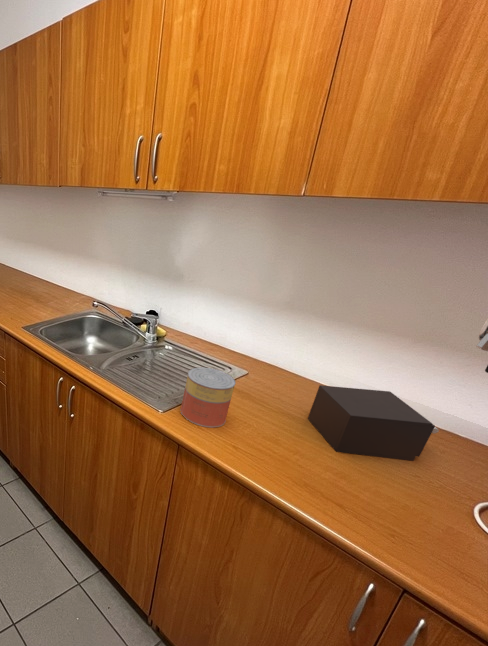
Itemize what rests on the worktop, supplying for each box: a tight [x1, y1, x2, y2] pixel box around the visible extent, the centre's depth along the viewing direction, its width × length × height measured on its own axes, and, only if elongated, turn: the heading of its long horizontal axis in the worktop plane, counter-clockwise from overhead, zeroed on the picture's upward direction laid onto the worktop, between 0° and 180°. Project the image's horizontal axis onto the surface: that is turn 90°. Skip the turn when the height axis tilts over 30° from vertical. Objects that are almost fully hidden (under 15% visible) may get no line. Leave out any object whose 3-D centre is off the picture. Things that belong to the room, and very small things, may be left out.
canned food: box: [179, 366, 236, 428], centre depth 107 cm, size 11×11×12 cm
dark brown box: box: [307, 384, 433, 462], centre depth 97 cm, size 16×14×11 cm
